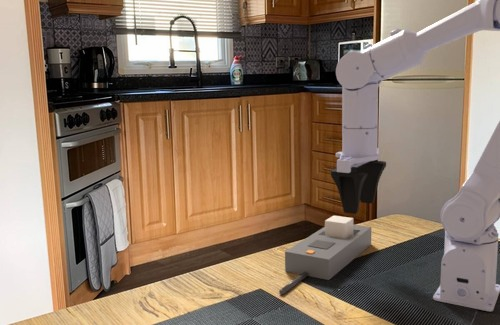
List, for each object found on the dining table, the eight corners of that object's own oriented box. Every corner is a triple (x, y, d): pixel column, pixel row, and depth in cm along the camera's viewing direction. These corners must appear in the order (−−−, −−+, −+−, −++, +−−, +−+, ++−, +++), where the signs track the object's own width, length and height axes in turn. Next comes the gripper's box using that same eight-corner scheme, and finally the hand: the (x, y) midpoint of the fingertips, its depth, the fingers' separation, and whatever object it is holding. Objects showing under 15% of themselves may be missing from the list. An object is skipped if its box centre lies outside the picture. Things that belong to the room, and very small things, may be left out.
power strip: (304, 300, 75) (304, 277, 74) (258, 290, 79) (257, 267, 79) (371, 244, 99) (371, 225, 98) (332, 238, 103) (332, 220, 103)
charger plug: (345, 249, 93) (345, 223, 92) (324, 246, 95) (324, 220, 95) (353, 243, 97) (353, 218, 96) (333, 240, 99) (333, 215, 98)
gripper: (353, 122, 92) (352, 196, 94) (318, 131, 80) (319, 215, 82) (391, 123, 88) (390, 200, 90) (361, 132, 76) (361, 220, 78)
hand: (359, 207), depth 86 cm, fingers open, 7 cm apart
